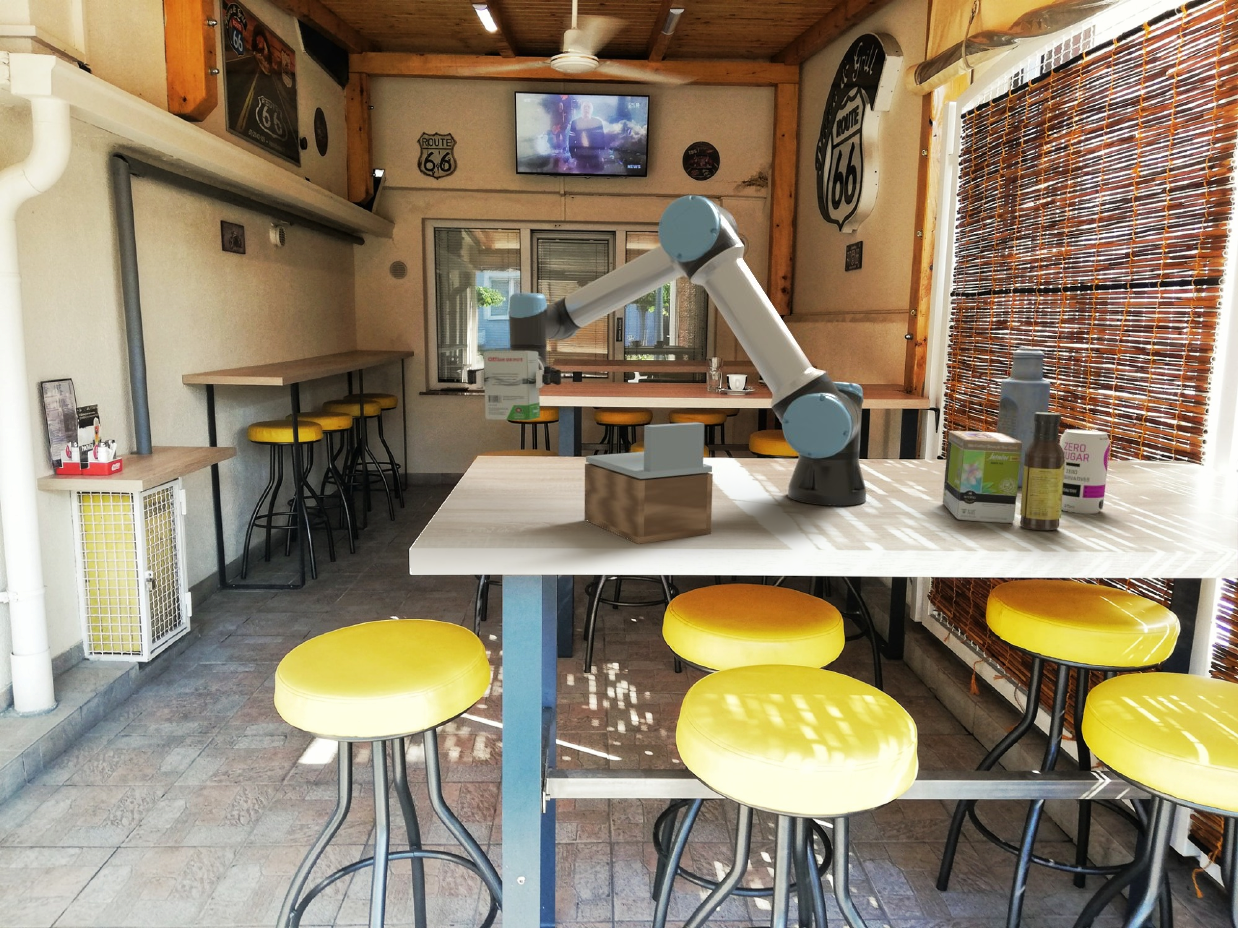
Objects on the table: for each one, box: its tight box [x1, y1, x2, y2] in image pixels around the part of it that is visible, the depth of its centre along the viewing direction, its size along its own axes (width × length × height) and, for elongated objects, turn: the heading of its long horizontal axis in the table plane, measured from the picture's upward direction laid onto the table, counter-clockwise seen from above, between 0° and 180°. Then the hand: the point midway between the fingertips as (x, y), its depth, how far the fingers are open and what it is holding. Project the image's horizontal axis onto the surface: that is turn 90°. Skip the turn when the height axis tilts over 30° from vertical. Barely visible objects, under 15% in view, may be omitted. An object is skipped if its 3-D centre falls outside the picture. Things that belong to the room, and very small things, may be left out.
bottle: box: [996, 346, 1051, 488], centre depth 182 cm, size 10×10×30 cm
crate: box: [584, 462, 714, 545], centre depth 140 cm, size 18×14×10 cm
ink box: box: [482, 350, 541, 421], centre depth 144 cm, size 9×5×12 cm, turn 71°
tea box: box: [942, 430, 1022, 524], centre depth 153 cm, size 15×10×15 cm
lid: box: [585, 421, 713, 479], centre depth 138 cm, size 18×14×8 cm
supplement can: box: [1059, 429, 1111, 515], centre depth 157 cm, size 8×8×15 cm
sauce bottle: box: [1019, 412, 1065, 531], centre depth 142 cm, size 6×6×20 cm
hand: (508, 379), depth 140 cm, fingers closed on ink box, 9 cm apart
